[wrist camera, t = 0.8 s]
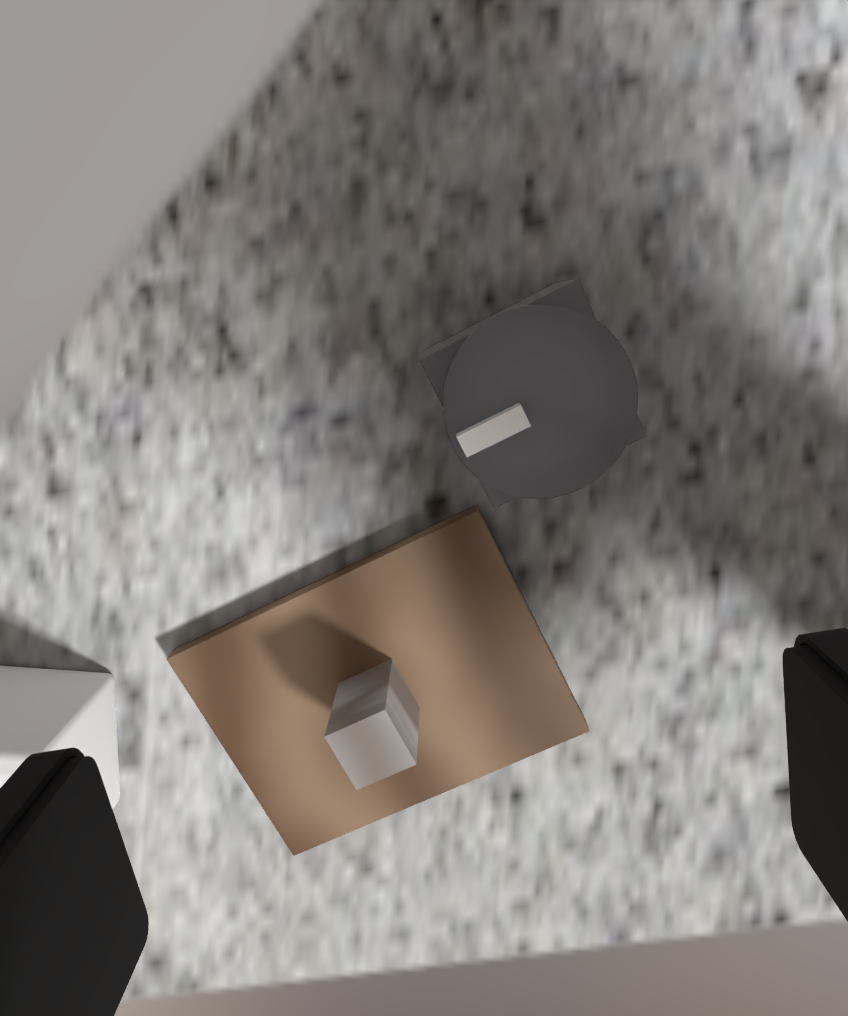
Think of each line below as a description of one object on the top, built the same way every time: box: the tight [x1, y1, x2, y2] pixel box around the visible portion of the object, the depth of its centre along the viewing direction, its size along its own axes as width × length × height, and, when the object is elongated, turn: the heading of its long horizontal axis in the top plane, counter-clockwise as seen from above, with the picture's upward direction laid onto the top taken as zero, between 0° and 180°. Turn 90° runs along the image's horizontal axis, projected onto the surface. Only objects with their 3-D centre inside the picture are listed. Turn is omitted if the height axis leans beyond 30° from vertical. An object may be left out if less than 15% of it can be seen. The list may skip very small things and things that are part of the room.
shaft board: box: [167, 505, 589, 855], centre depth 34 cm, size 16×12×6 cm
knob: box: [420, 279, 646, 508], centre depth 29 cm, size 7×7×7 cm
